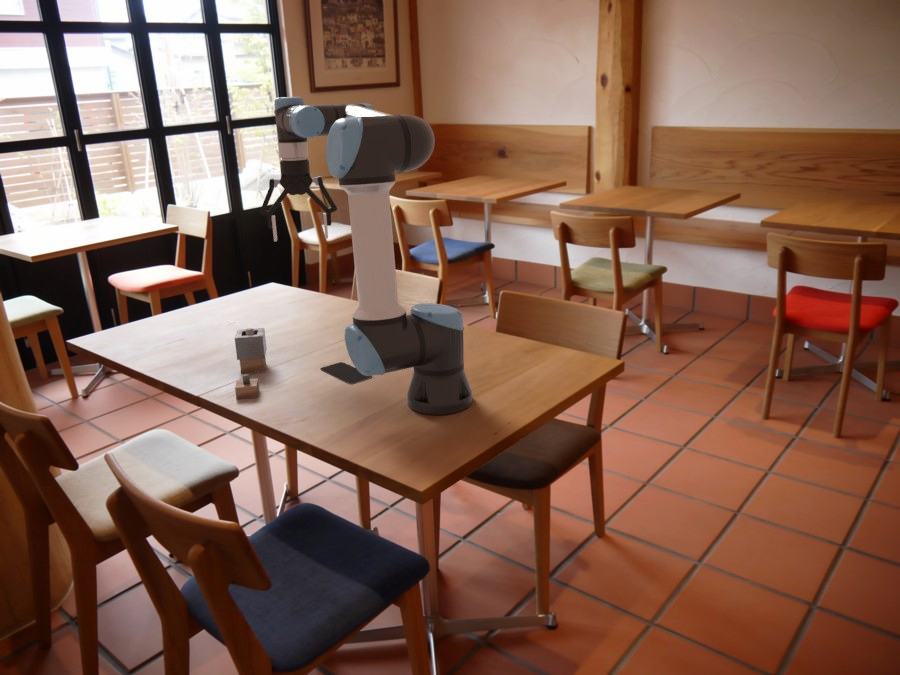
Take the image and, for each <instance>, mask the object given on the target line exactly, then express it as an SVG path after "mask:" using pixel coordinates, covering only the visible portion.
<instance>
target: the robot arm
mask: <svg viewBox="0 0 900 675" xmlns="http://www.w3.org/2000/svg"><path fill="white" fill-rule="evenodd" d="M273 113H274V116H275V126H276V137H277V148H278V156H279V158H280V161H279V168H280V179H279V178H273V177H271V178H270V179H269V182H268V185H269V186H268V190H267V192H266V195H265V198H264V200H263V203H262V205H261V207H260V210H259V214H260V215H261V216H264V217H266V219H267V228H268V229H269V230H272V234H273V242H277V241H278V232H277V231H278V230H277V223H276V222H277V221H276V215H273V214H274V213H275V212H276V210H277V209H278V208H279V206H280V205H281V203H282V202H283V201H284V200H285V197H287V195H290V196H296V195H299V196H303V195H305V194H307V195H308V196H309V197H310V198H311V199H312V200H313V202H315V204H317V205H318V206H319V208H321V210H323V211H324V212H323V213H322V214H323V225H324V236H325V237H324V238H325V239H329V232H328V231H329V230H328V226H329V227H330V226H332V215H331V214H332V213H334V212H336V211H337V210H338V207H337V204H335V202H334V199H332V196H331V195H330V193H329V191H328V189H327V188H326V187H325V184H324V180H323V177H322V176H321V175H319V176H316V177H312V176H311V170H310V160H309V159H308V157H309V147H308V138H309V139H312V138H315V137H327V139H326V148H325V160H326V165H327V167H328V169H327V170H328V172H329V174H330V175H331V177H333V178H335V179H338V183H339V184H338V186H339V188H341V189H342V190H343V191H344V192H345V193H346V194H347V198H348V209H349V220H350V221H349V222H350V230H351V241H352V251H353V263H354V272H355V283H356V293H357V294H356V295H357V303H358V306H357V308H356V310H355V311H354V312H353V313H352V323H351V324H349V325H348V326H346V328H345V330H344V343H345V347H346V350H347V354H348V356H349V358H350V360H351V363H352V364H353V367H354V368H356V369H357V370H358V371H359V372H360V373H361V374H363V375H365V376H372V377H374V376H377V375H380V376H382V375H385V374H387V373H388V374H390V373H393V372H397V371H401V370H402V371H403V370H407V369H411V368H413V372H412V376H411V380H410V382H409V383H410V384H409V387H408V390H407V397H406V398H407V406H408V407H409V408H410V409H411V410H413V411H415V412H416V413H417V412H418V413H421V414H424V415H431V416H432V415H433V416H434V415H435V416H442V415H443V416H444V415H451V414H456V413H459V412H462V411H465V410H467V409H468V408H469V407H470V406H471V405H472V403H473V391H472V388H471V386H470V382H469V381H468V377H467V374H466V372H465V354H464V353H465V352H464V350H465V349H464V346H465V344H464V343H465V342H464V330H465V326H464V319H463V313H462V312H461V311H460V310H459V309H457V308H456V307H454V306H450V305H446V304H441V303H432V302H431V303H430V302H429V303H427V302H426V303H425V302H424V303H416V304H414V305H412V306H411V309H410V312H409V313H410V314H407V310H406V308H404V307H403V306H402V305H401V304H400V303H399V296H398V282H397V273H396V272H397V271H396V259H395V248H394V247H395V246H394V234H393V221H392V211H391V199H390V197H391V196H390V191H391V189H392V188H393V187H394V185H395V184H396V182H397V180H396V173H397V174H398V173H406V172H411V171H414V170H416V169H418V168H420V167H422V166H423V165H425V163H426V162H427V161H428V160H429V159H430V158H431V156H432V154H433V152H434V149H435V142H436V139H435V134H434V130H433V129H432V127H431V125H430V124H429V122H427V121H426V120H425V119H423V118H422V117H419V116H416V115H413V114H412V115H411V114H395V115H394V114H390V113H387V112H382V111H380V110H376V109H374V108H373V105H372V104H370V103H366V102H365V103H363V102H362V103H361V102H355V103H341V104H337V103H336V104H331V103H330V104H305V100H304V98H303V97H301V96H286V97H285V96H281V97H276V98H275V99H274V111H273ZM313 183H314V185H315V186H318V187H319V189H320V191H321V193H322V194H323V196H324V199H326V202H327V203H328V204H329V206H330V207H329V206H328V205H327V204H326V203H325V202H323V200H321V198H320V197H319V196H318V195H317V194H316V193H315V192H314V191H313V190H312V189H311V188H310V187H311V186H312V184H313ZM278 185H280V186H281V187H282V189H283V190H282V192H281V193H280V195H279V196H278V198H277V199H276V200H275V201H274V202H273V204H272V206H271V207H270V208H269V209H268V210H267V207H268V205H269V203H270V200H271V197H272V195H273V192H274V191H275V190H274V189H275V188H277V187H278Z"/></svg>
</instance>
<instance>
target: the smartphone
mask: <svg viewBox="0 0 900 675" xmlns="http://www.w3.org/2000/svg"><path fill="white" fill-rule="evenodd" d="M320 371H321V372H324V373H325V374H327V375H329V376H331V377H333V378H336V380H337V379H338V380H339V381H342V382H344V383H345V384H348V385H354V384H357V383H360V382H364V381H366V380H370V379H372V378H373V376H365V375H363V374H361V373H360V372H359V371H358V370H357V369H356V368H355V366H352V365H350V364H348V363H345V362H343V361H339V362H337V363H332V364H329V365H326V366H322V367H321V368H320Z"/></svg>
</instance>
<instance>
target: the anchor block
mask: <svg viewBox="0 0 900 675" xmlns="http://www.w3.org/2000/svg"><path fill="white" fill-rule="evenodd" d="M241 377H242V379H237V380H236V383H235V387H234V389H235V398H236V400H244V399H256V398H258V397H259V393H260V386H259V385H260V384H259V378H250V373H243V374H242V375H241Z"/></svg>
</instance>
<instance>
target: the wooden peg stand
mask: <svg viewBox="0 0 900 675" xmlns="http://www.w3.org/2000/svg"><path fill="white" fill-rule="evenodd" d="M253 329H254V328H253V327H252V328H251V327H250V328H249V327H248V328H246V329H245V331H246V336H247V335H254V331H253ZM266 359H267V358H266V357H265V358H257V359H244V360H239V365H240V374H242V375H243V374H252V373H264V372H265V373H266V367H267V361H266Z"/></svg>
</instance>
